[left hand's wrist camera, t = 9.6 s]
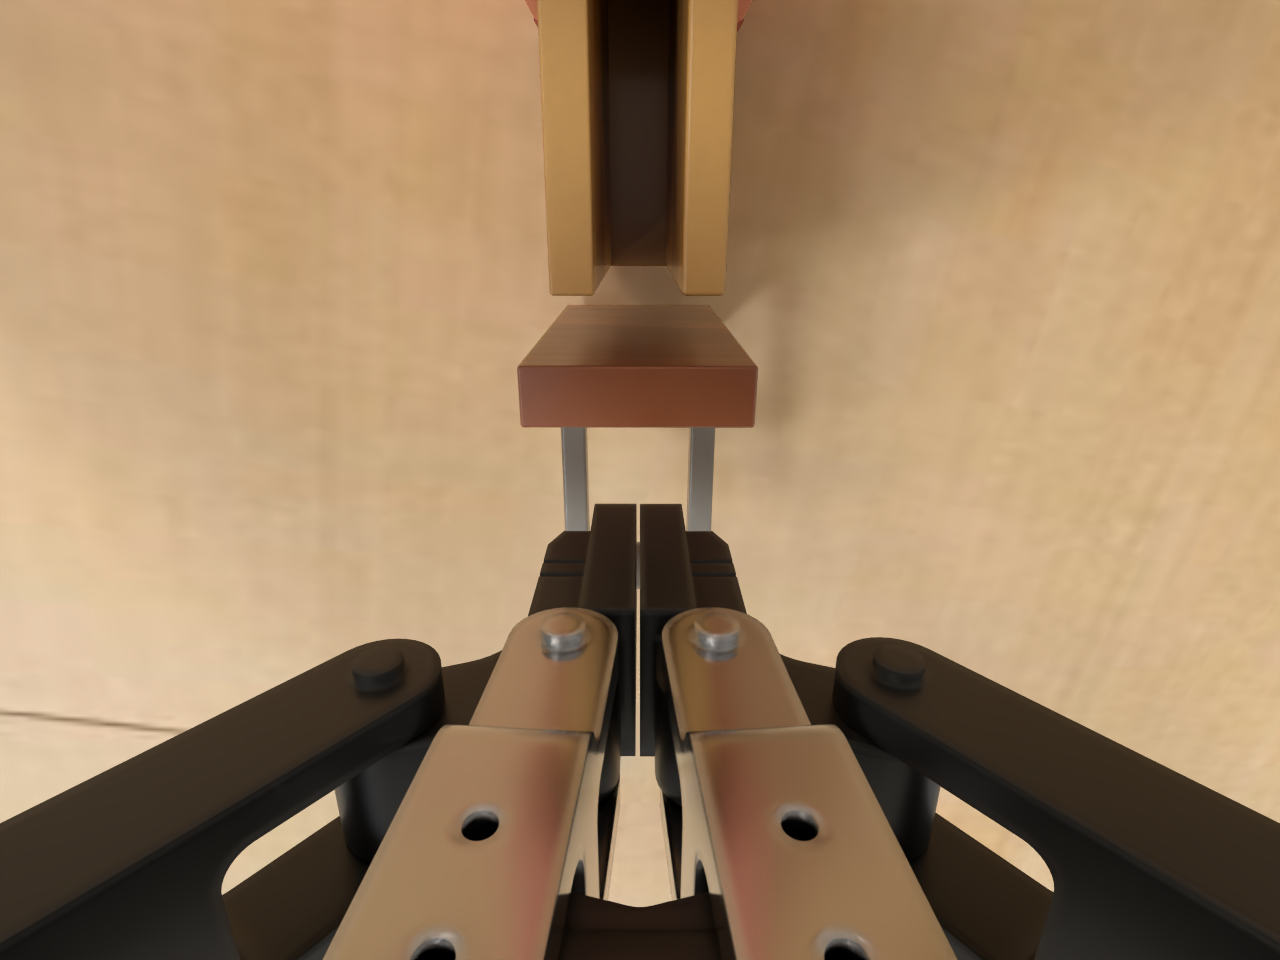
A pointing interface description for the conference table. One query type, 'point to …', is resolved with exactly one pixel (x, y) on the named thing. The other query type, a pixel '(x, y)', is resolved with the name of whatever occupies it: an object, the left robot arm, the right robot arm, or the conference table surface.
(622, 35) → the drawer
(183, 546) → the conference table surface
